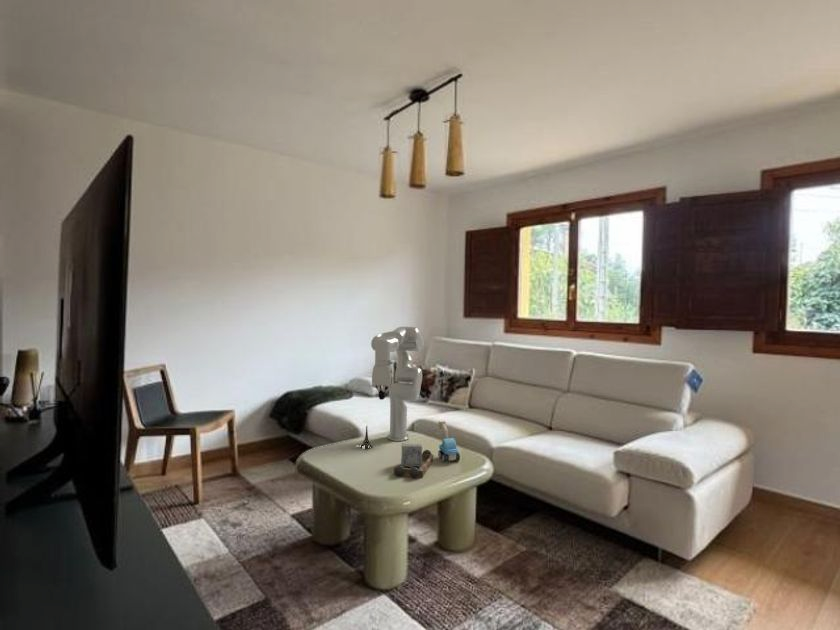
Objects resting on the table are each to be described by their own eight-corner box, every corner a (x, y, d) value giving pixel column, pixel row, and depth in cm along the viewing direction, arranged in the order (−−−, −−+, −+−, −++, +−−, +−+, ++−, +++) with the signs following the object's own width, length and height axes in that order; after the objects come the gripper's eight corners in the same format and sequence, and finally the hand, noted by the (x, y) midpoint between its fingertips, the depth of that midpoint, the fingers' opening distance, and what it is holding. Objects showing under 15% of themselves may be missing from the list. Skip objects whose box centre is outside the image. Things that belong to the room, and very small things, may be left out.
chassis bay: (407, 456, 232) (408, 447, 232) (434, 459, 229) (434, 450, 228) (392, 475, 207) (392, 466, 207) (421, 479, 204) (421, 469, 203)
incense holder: (421, 462, 224) (421, 441, 224) (422, 468, 216) (422, 447, 215) (401, 462, 224) (401, 441, 223) (401, 468, 215) (401, 447, 215)
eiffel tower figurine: (381, 445, 250) (381, 421, 249) (380, 451, 240) (380, 426, 239) (353, 445, 249) (354, 420, 249) (351, 451, 239) (352, 426, 239)
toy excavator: (448, 451, 241) (449, 419, 240) (461, 462, 225) (461, 428, 224) (433, 452, 238) (434, 420, 238) (444, 464, 222) (445, 429, 222)
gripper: (398, 362, 232) (398, 398, 233) (371, 361, 236) (370, 396, 237) (394, 365, 225) (393, 401, 226) (365, 363, 228) (365, 399, 229)
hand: (381, 398), depth 231 cm, fingers closed
